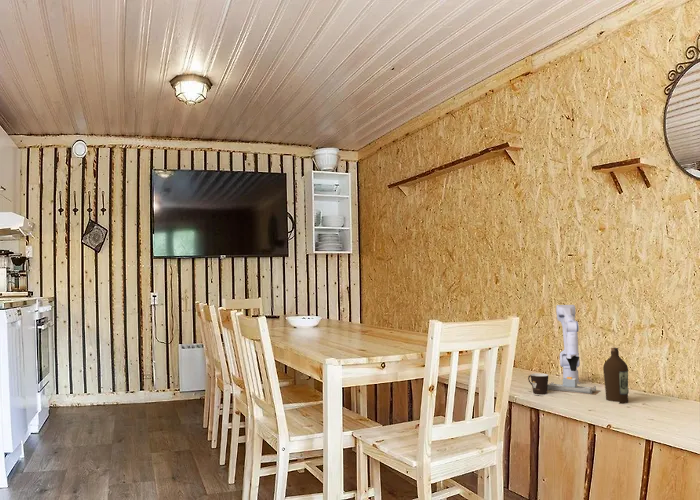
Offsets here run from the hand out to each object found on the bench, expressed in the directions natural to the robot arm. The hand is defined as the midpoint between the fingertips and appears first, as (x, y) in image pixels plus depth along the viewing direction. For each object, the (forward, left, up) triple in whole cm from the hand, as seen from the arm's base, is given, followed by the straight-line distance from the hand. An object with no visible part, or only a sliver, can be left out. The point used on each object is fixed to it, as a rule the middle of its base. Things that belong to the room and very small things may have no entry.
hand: (573, 370), depth 293 cm
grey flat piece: (+6, 0, -9) cm, 11 cm away
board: (+6, 0, -10) cm, 11 cm away
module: (+7, 0, -8) cm, 10 cm away
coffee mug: (+19, -12, -10) cm, 25 cm away
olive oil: (+17, +24, -10) cm, 31 cm away
